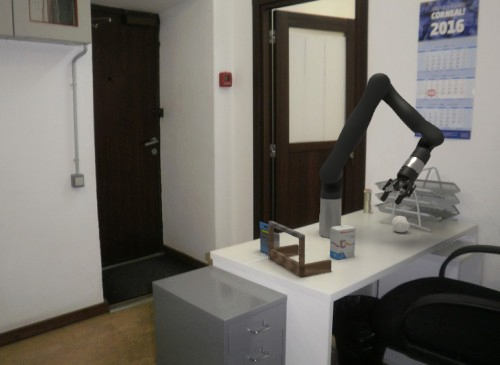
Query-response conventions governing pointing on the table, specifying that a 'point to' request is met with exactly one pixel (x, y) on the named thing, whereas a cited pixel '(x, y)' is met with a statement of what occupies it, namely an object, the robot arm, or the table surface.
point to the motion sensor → (400, 224)
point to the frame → (283, 254)
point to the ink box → (342, 242)
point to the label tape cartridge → (267, 238)
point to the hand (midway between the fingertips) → (389, 202)
